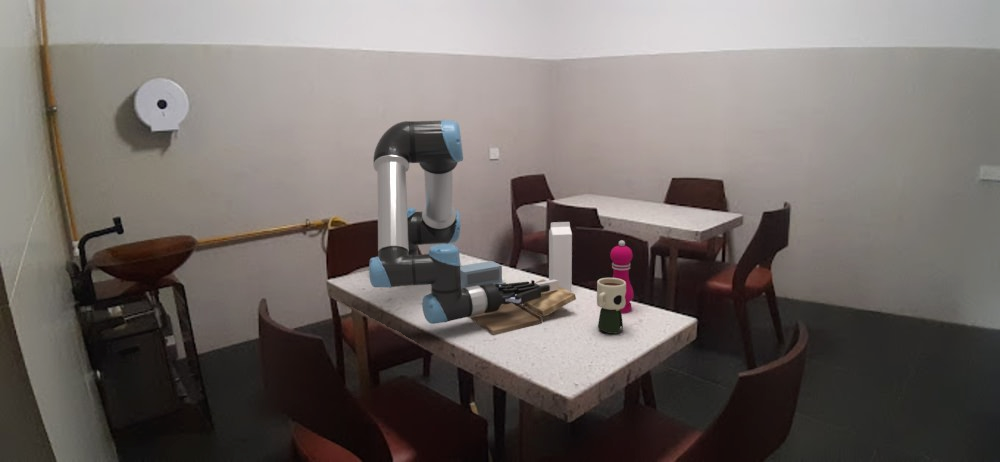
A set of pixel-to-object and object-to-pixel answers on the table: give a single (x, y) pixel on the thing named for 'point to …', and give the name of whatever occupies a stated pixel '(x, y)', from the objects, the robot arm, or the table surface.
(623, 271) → the pepper mill
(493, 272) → the cab
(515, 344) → the table surface
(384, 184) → the robot arm
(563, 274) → the milk
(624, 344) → the table surface
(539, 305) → the side gate
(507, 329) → the flatbed
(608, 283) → the character mug
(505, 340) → the table surface
